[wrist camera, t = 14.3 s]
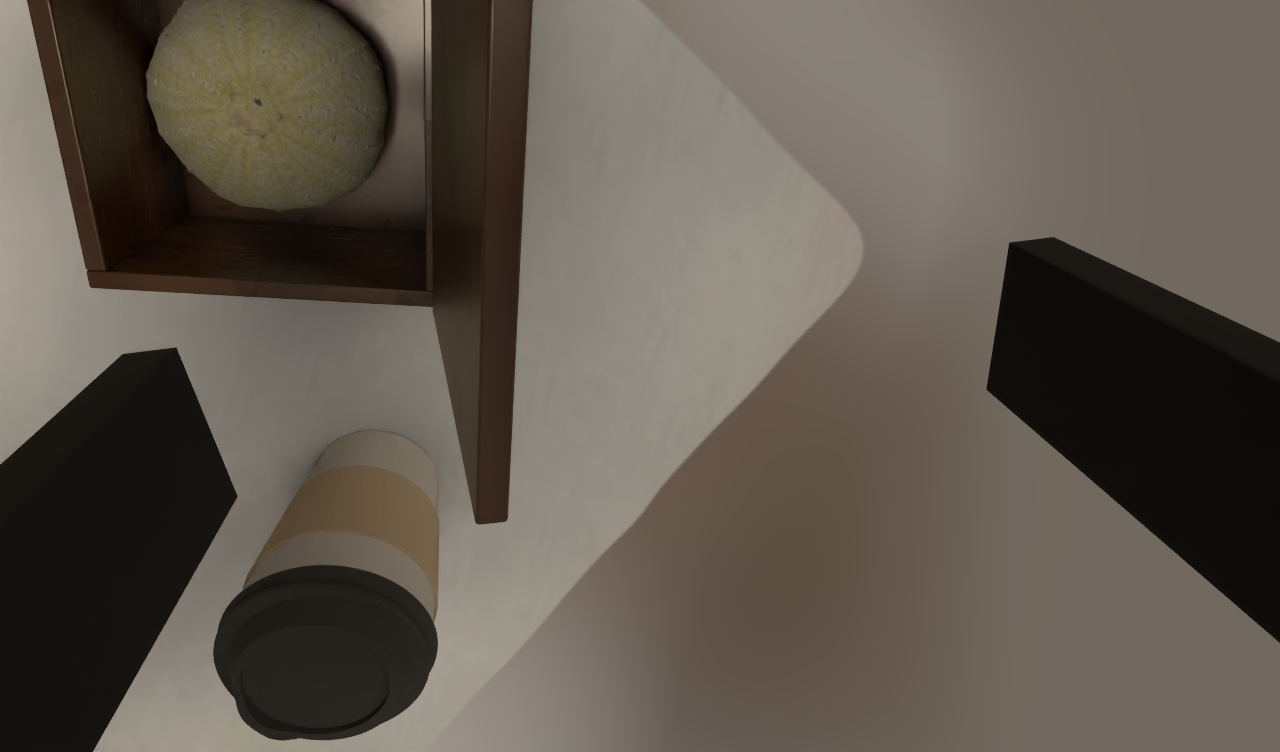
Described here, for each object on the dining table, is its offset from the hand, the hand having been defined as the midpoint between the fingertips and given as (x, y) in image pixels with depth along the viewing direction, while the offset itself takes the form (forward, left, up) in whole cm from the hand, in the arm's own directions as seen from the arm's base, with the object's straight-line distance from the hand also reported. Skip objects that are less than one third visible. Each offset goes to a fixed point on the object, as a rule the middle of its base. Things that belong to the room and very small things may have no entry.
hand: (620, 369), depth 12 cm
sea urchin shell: (-12, 0, -26) cm, 29 cm away
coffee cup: (-9, -21, -27) cm, 35 cm away
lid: (-4, 0, -11) cm, 12 cm away
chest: (-11, 0, -27) cm, 29 cm away
